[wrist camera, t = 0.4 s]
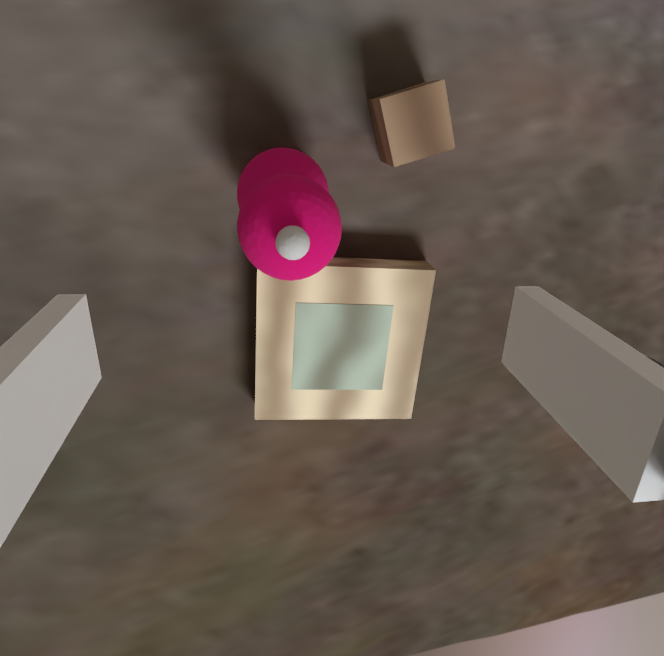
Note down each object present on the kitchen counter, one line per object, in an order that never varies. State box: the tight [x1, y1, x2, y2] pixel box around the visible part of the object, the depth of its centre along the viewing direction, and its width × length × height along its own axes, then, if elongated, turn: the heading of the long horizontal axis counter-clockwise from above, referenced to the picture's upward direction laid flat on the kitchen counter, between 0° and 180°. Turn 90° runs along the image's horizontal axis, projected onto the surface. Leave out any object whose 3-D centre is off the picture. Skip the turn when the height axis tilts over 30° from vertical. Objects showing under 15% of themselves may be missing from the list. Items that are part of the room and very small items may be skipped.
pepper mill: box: [237, 147, 342, 281], centre depth 34 cm, size 7×7×20 cm
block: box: [367, 79, 455, 167], centre depth 40 cm, size 5×5×5 cm
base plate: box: [255, 257, 436, 420], centre depth 48 cm, size 16×16×3 cm
